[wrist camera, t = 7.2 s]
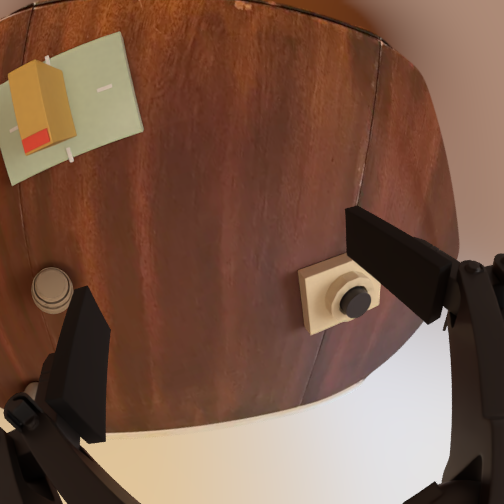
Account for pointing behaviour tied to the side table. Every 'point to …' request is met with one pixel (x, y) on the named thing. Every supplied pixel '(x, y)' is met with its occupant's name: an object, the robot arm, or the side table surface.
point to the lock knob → (40, 106)
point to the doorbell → (332, 291)
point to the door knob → (52, 290)
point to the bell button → (355, 302)
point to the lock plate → (78, 107)
